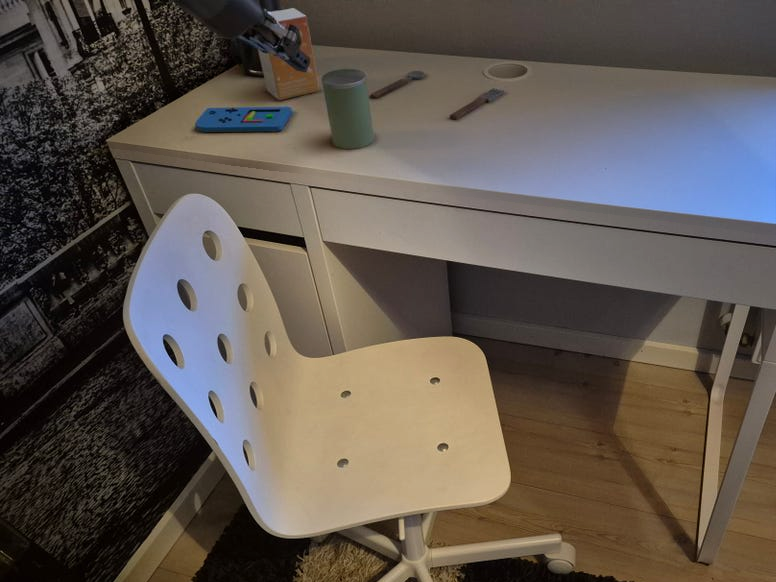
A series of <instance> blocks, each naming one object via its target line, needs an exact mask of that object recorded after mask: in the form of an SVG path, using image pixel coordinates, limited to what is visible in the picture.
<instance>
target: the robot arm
mask: <svg viewBox="0 0 776 582" xmlns="http://www.w3.org/2000/svg"><path fill="white" fill-rule="evenodd" d="M171 2H172V3H174V4H175V5H176V6H177V7H179V9H182V10H183V11H184V12H185V13H187V15H190V16H191V17H192V18H193V19H195V20H196V21H198V23H201V24H202V26H204V27H206V28H207V29H209V30H210V31H211V32H213V33H214V34H216V35H217V36H218V37H220V38H222V39H224V40H230V41H229V42H230V43H229V44H230V49H229V53H230V54H229V55H230V56H231V58H232V60H234V62H235V63H236V64H237V66H238V67H240V66H242V70H243V74H244V75H245V76H256V77H264V73H263V69H262V65H261V60H260V56H259V51H258V50H260V51H262V52H263V53H267V54H268V52H269V53H271V54H272V55H273V56H274V57H276V58H280V57H281V59H282V60H284V61H285V62H286V63H288V64H289V65H290V66H291V67H293V68H294V69H295V70H297V71H301V72H306V71H307V69H308V66H309V64H310V57H308V56H307V55H306V54H305V53H304V52H302V51H301V50H300V49H299V48H300V46H301V43H302V42H301V37H300V33H299V29H298V28H297V27H296V26H295V25H291V24H290V25H289V27H288V26H287V27H286V29H285V28H284V27H283V26H282V25H281V24H279V23H278V22H277V21H276V20H275V18H274V16H273V15H272V14H271V13H270V12H273V11H280V10H283V6H282V1H281V0H171ZM239 57H240V58H239Z"/></svg>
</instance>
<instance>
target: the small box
mask: <svg viewBox="0 0 776 582" xmlns="http://www.w3.org/2000/svg"><path fill="white" fill-rule="evenodd" d="M270 13H271V14H272V15H273V16H274V18H275V20H276V21H277V22H278V23H279V24H281V25H282V26H283V27H284V28H285V29H286V27H287V26H288V27H289V25H290V24H291V25H295V26H296V27H297V28H298V29H299V33H300V37H301V42H302V43H301V46H300V48H299V49H300V50H301V51H302V52H304V53H305V54H306V55H307V56H308V57H310V64H309V66H308V69H307V71H306V72H301V71H297V70H295V69H294V68H293V67H291V66H290V65H289V64H288V63H286V62H285V61H284V60H282V59H281V57H280V58H276V57H274V56H273V55H272V54H271V53H269V52H268V54H267V53H263V52H262V51H260V50H258V51H259V56H260V60H261V65H262V69H263V73H264V76H263V77H264V81H265V86H266V90H267V92H268V93H270V95H272V96H273V97H274V98H275V99H277V100H278V101H283V100H286V99H287V100H288V99H291V98H294V97H298V96H299V97H300V96H304V95H308V94H313V93H318V92H320V85H319V80H318V74H317V68H316V67H317V66H316V62H315V57H314V51H313V46H312V40H311V34H310V28H309V22H308V17H307V15H305V14H304V13H303V12H301V11H299V10H298V9H296V8H295V7H291V8H288V9H282V10H280V11H273V12H270Z"/></svg>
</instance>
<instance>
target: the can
mask: <svg viewBox="0 0 776 582" xmlns="http://www.w3.org/2000/svg"><path fill="white" fill-rule="evenodd" d="M367 82H368V81H367V74H366V73H365V72H364V71H362V70H359V69H354V68H341V69H336V70H332V71H328V72H326V73H325V74H323V75H322V76H321V85H322V89H323V95H324V100H325V106H326V111H327V118H328V122H329V128H330V134H331V140H332V143H333V146H335V147H337V148H340V149H343V150H356V149H361V148H365V147H367V146H369V145H371V144H372V143H373V142H374V141H375V135H374V127H373V120H372V113H371V104H370V98H369V97H370V96H369V90H368V83H367Z"/></svg>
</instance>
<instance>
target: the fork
mask: <svg viewBox="0 0 776 582" xmlns="http://www.w3.org/2000/svg"><path fill="white" fill-rule="evenodd" d="M504 94H505V90H501V89H498V88H496V89H495V88H494V87H493V88H491V89H490V90H487V91H486V92H483V93H481V94H480V95H478V96H477V98H476V99H475V100H473V101H471V102H470V103H467V104H466V105H465V106H463V107H461V108H459V109H458V110H456V111H454V112H452V113H451V114H449V118H450V119H451V120H455V121H458V120H459V119H461V118H463V117H464V116H466V115H468V114H469V113H470V112H472V111H474V110H476V109H478V108H479V107H482V106H483V105H484V104H486V103H491V102H493V101H494V100H496V99H498V98H499V97H501V96H502V95H504Z"/></svg>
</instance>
